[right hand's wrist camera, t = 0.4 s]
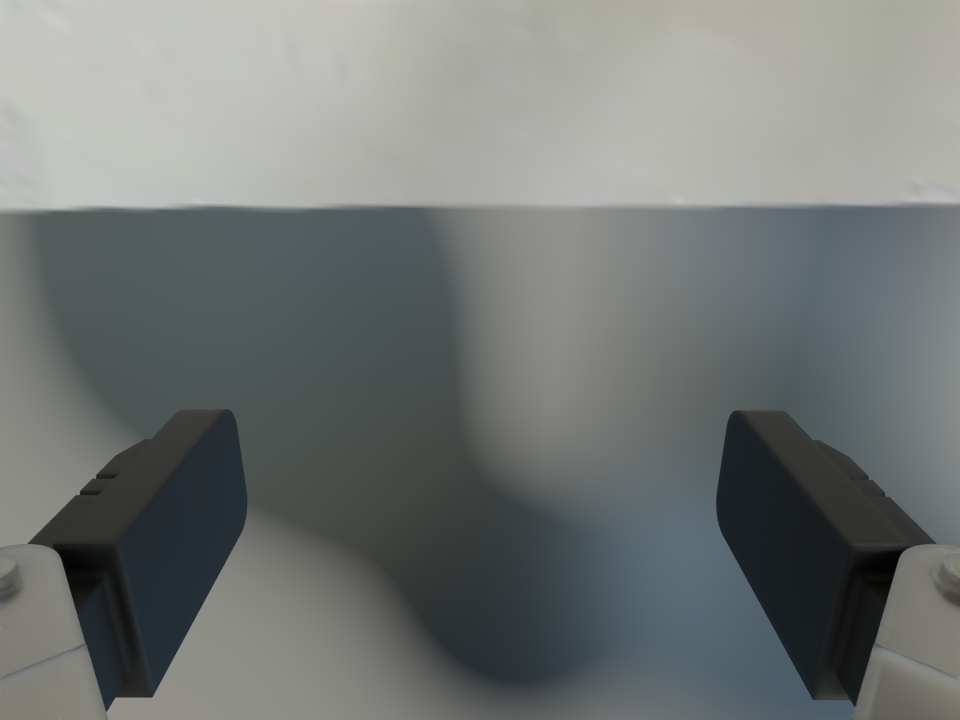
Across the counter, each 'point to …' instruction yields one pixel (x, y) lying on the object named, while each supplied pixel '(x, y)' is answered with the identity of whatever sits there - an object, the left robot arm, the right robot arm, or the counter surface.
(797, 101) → the counter surface
